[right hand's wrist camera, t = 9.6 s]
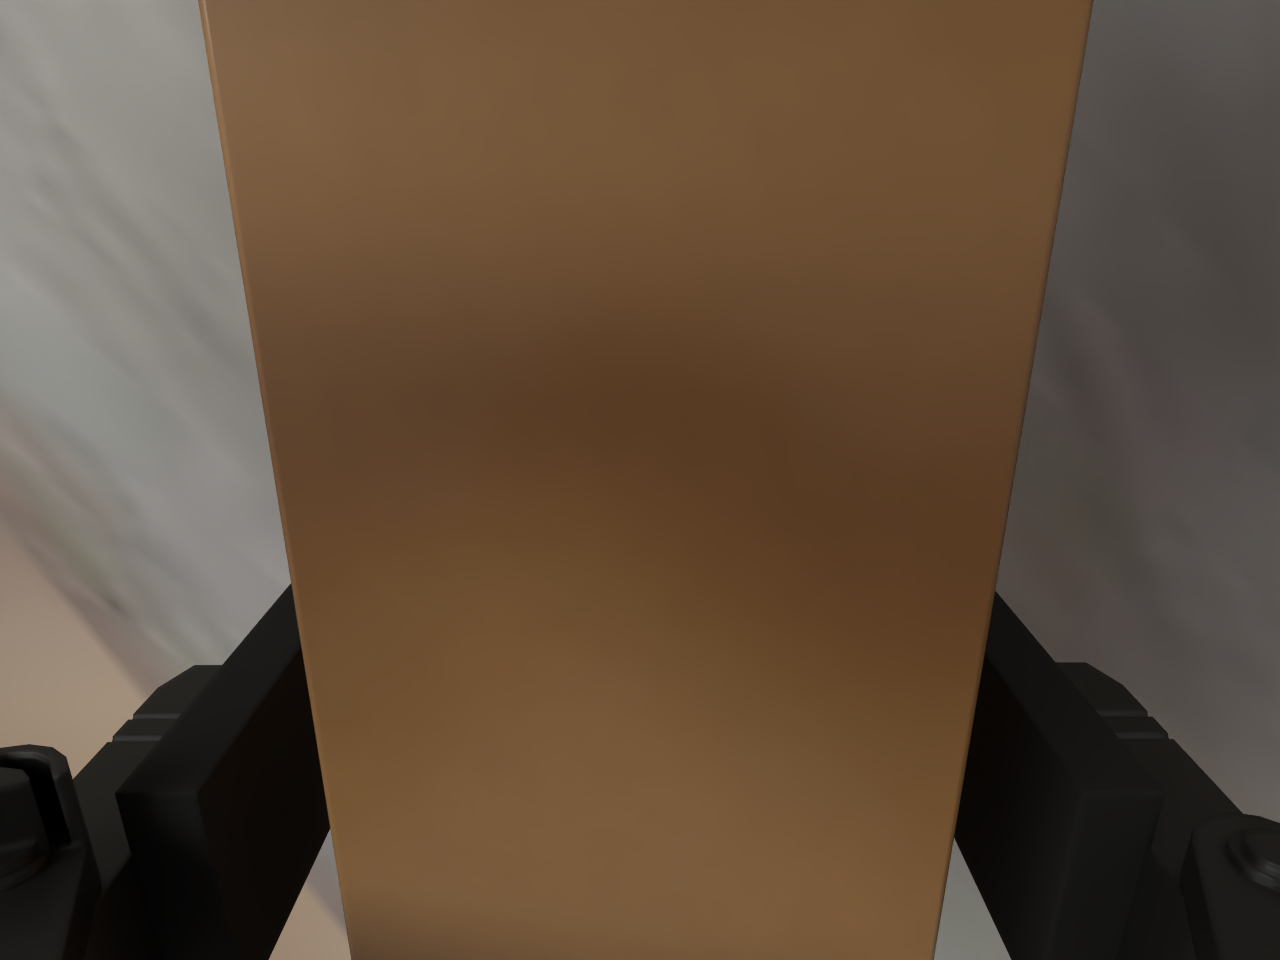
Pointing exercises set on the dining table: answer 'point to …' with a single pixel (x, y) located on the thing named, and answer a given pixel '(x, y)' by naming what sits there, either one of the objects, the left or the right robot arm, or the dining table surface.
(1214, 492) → the dining table surface
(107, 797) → the right robot arm
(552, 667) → the bar
